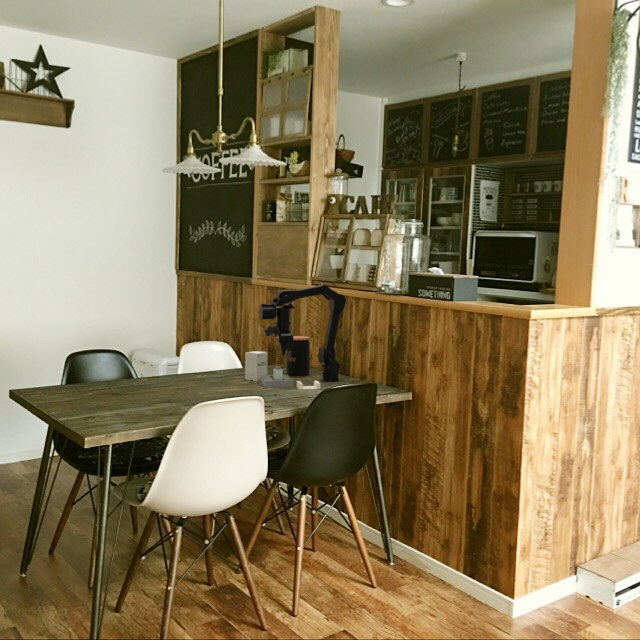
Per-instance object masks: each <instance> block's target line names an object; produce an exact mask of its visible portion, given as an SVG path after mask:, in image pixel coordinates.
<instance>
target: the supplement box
mask: <svg viewBox="0 0 640 640" xmlns="http://www.w3.org/2000/svg"><path fill="white" fill-rule="evenodd" d="M244 354H245V356H244V358H245V360H244V364H245V365H244V380H245V379H246V381H250V380H253V382H258V381H259V380H260V381H261V375H268V352H267V351H259V350H258V351H257V350H255V351H247V352H244ZM260 381H259V382H260Z"/></svg>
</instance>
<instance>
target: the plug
mask: <svg viewBox="0 0 640 640" xmlns="http://www.w3.org/2000/svg"><path fill="white" fill-rule="evenodd" d="M272 369H273V371H272V372H273V373H272V375H273V380H283V375H284V374H283V368H281V366H280V365H275V368H272Z"/></svg>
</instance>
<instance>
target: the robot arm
mask: <svg viewBox="0 0 640 640" xmlns="http://www.w3.org/2000/svg"><path fill="white" fill-rule="evenodd" d="M318 295H321V296H323V298H325V299H326V300H327V301H328V310H329V315H328V323H327V327H326V333H325V338H324V344H323V346H322V347H318V354H317V355H316V357H318V358H317V360H318V363H320V364H321V366H322V368H323V370H322V372H321V373H322V375H321V381H322V382H329V383H331V382H332V383H333V382H335V383H336V382H339V370H340V368H341V366H342V365H341V364H340V362H338V361H337V360H336V355H337V354H336V353H337V352H336V348H335V345H336V340H337V333H338V328H339V324H340V323H339V321H340V318H341V314H342V313H343V311H344V309H345V307H346V304H347V298H346V296H345V295H344V294H342V293H338V292H337V291H335V290H333V289H331V288H330V287H329V286H328V285H326V284H319V285H315V286H311V287H305V288H299V289H280V290H278V291H276V293H275V297H274V298H273V300H272V301H271V302H270V303H260V307H259V311H258V317H259V320H261V321H263V320H264V321H265V320H268V321H269V320H274V319H276V320H275V323H274V324H273V325H269V326H267V327H266V328H263V333H264V336H265V337H270V336H272V335H273V337H274V338H275V340H276V341H277V342H278V344H279V348H280V349H279V350H280V353H281V356H285V355H286V354H287V348H288V346H289V344H290V341H293V336H294V335H293V334H292V333H291V322H292V321H291V310H294V309H295V308H296V307H295V306H294V305H293V304H292V302H295V301H297V300H300V299H303V298H307V297H312V296H313V297H314V296H318Z"/></svg>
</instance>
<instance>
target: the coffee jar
mask: <svg viewBox="0 0 640 640" xmlns="http://www.w3.org/2000/svg"><path fill="white" fill-rule="evenodd" d="M310 338H311V337H310V336H306V335H304V336H303V335H293V341H290V344H289V346H288V348H287V351H286V373H287V375H291V376H290V377H297V376H300V377H307V376H308V375H309V374H310V367H311V365H310V362H311V361H310V359H311V357H310V351H311V350H310V349H311V347H310V346H311V345H310V344H311V343H310Z"/></svg>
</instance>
